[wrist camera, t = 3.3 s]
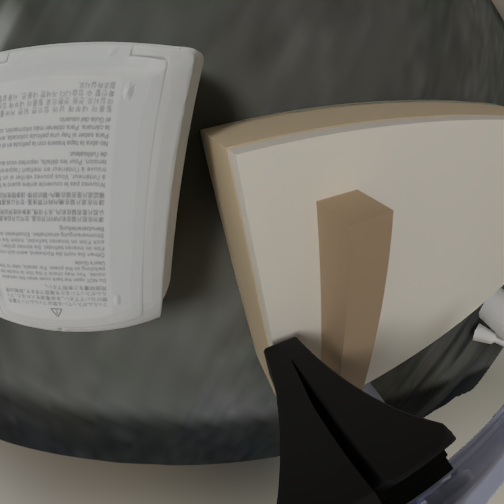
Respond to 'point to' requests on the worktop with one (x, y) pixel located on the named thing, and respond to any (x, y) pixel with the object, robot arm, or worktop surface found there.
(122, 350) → the worktop surface
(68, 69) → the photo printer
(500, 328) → the fire extinguisher
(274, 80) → the worktop surface
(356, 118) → the box
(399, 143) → the sliding box lid
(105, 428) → the worktop surface
